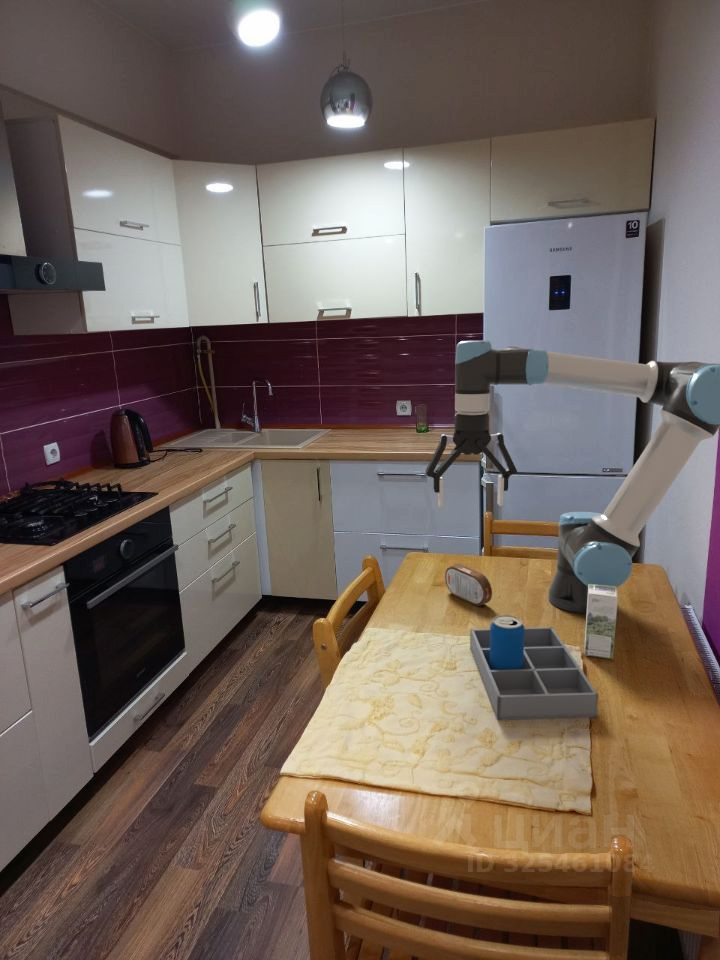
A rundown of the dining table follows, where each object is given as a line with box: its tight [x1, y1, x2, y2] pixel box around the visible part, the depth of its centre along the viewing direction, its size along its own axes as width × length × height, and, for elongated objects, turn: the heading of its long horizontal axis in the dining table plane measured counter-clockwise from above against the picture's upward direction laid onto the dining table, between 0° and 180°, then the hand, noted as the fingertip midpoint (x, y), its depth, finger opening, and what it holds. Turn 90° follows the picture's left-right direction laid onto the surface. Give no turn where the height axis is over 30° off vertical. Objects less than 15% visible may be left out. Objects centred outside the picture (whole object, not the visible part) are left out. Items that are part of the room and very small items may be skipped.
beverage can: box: [489, 614, 526, 670], centre depth 126 cm, size 6×6×12 cm
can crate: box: [469, 626, 599, 721], centre depth 127 cm, size 18×26×4 cm
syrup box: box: [584, 584, 619, 660], centre depth 136 cm, size 6×6×14 cm
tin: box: [444, 563, 493, 607], centre depth 164 cm, size 15×3×8 cm, turn 34°
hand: (470, 505), depth 146 cm, fingers open, 13 cm apart
